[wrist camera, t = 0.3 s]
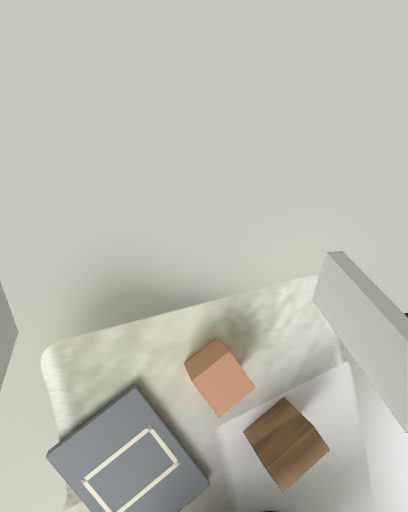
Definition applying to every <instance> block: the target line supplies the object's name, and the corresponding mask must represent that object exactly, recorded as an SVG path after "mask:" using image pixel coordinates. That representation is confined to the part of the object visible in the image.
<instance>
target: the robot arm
mask: <svg viewBox="0 0 408 512" xmlns="http://www.w3.org/2000/svg"><path fill="white" fill-rule="evenodd" d="M312 300H313V301H314V303H315V304H316V306H317V307H318V308H319V310H320V311H321V313H322V314H323V316H324V317H325V318H326V320H327V321H328V323H329V324H330V326H331V327H332V328H333V330H334V331H335V333H336V334H337V335H338V337H339V338H340V340H341V341H342V343H343V344H344V345H345V347H346V348H347V350H348V351H349V352H350V354H351V355H352V357H353V358H354V360H355V361H356V362H357V364H358V365H359V367H360V368H361V370H362V371H363V372H364V374H365V375H366V377H367V378H368V380H369V381H370V382H371V384H372V385H373V387H374V388H375V389H376V391H377V392H378V394H379V395H380V396H381V398H382V399H383V401H384V402H385V404H386V405H387V407H388V408H389V409H390V411H391V412H392V414H393V415H394V416H395V418H396V419H397V421H398V422H399V423H400V425H401V426H402V428H403V429H404V431H405V432H406V433H407V432H408V313H403V312H402V311H400V309H399V308H397V306H396V305H395V304H394V303H393V302H392V301H391V300H390V299H389V298H388V297H387V296H386V295H385V294H384V293H383V292H382V291H381V290H380V289H379V288H378V287H377V286H376V285H375V284H374V283H373V282H372V281H371V280H370V279H369V278H368V277H367V276H366V275H365V274H364V273H363V272H362V271H361V270H360V269H359V268H358V267H357V266H356V265H355V263H354V262H353V261H352V260H351V259H350V258H349V257H347V255H346V254H345V253H344V252H343V251H337V252H327V253H326V256H325V260H324V263H323V266H322V269H321V273H320V276H319V279H318V283H317V286H316V289H315V292H314V296H313V299H312ZM17 335H18V330H17V327H16V324H15V321H14V318H13V316H12V313H11V310H10V307H9V305H8V302H7V299H6V296H5V294H4V291H3V288H2V285H1V282H0V390H1V387H2V383H3V380H4V377H5V374H6V370H7V367H8V364H9V361H10V358H11V354H12V351H13V347H14V345H15V341H16V338H17ZM268 512H273V511H268Z"/></svg>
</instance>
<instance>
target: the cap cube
mask: <svg viewBox="0 0 408 512" xmlns="http://www.w3.org/2000/svg"><path fill="white" fill-rule="evenodd" d="M184 365H185V367H186V369H187V372H188V374H189V376H190V378H191V381H192V382H193V384H194V385H195V386H196V388H197V389H198V390H199V392H200V393H201V394H202V396H203V397H204V398H205V400H206V401H207V402H208V404H209V405H210V406H211V408H212V409H213V410H214V412H215V413H216V414H217V416H218V417H220V416H221V415H222V414H224V413H225V412H226V411H227V410H229V409H230V408H231V407H232V406H233V405H235V404H236V403H237V402H238V401H239V400H241V399H242V398H243V397H244V396H245V395H247V394H248V393H249V392H250V391H252V390H253V389H254V388H255V386H254V384H253V383H252V382H251V380H250V379H249V377H248V376H247V375H246V373H245V372H244V370H243V369H242V368H241V366H240V365H239V363H238V362H237V361H236V359H235V358H234V356H233V355H232V354H231V352H230V351H229V350H228V349H227V348H226V347H225V346H224V345H223V344H222V343H221V341H220V340H219V339H218V338H216V339H215V340H213V341H212V342H211V343H209V344H208V345H207V346H206V347H204V348H203V349H202V350H200V351H199V352H198V353H197V354H195V355H194V356H193V357H191V358H190V359H189V360H188V361H186V362H185V363H184Z"/></svg>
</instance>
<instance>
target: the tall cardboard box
mask: <svg viewBox="0 0 408 512" xmlns="http://www.w3.org/2000/svg"><path fill="white" fill-rule="evenodd" d="M243 433H244V434H245V436H246V438H247V439H248V441H249V442H250V444H251V446H252V447H253V449H254V451H255V452H256V454H257V456H258V457H259V459H260V461H261V462H262V464H263V466H264V467H265V469H266V470H267V472H268V473H269V474H270V476H271V477H272V478H273V480H274V481H275V482H276V484H277V485H278V486H279V488H280V489H281V491H282V492H284V491H285V490H286V489H287V488H288V487H290V486H291V485H292V484H293V483H294V482H295V481H296V480H297V479H298V478H299V477H301V476H302V475H303V474H304V473H305V472H306V471H307V470H308V469H309V468H311V467H312V466H313V465H314V464H315V463H316V462H317V461H318V460H319V459H320V458H322V457H323V456H324V455H325V454H326V453H327V452H328V451H329V450H330V449H329V447H328V446H327V444H326V443H325V442H324V440H323V439H322V437H321V436H320V434H319V433H318V432H317V430H316V429H315V427H314V426H313V425H312V424H311V423H310V422H309V421H308V420H307V419H306V418H305V417H304V416H303V415H302V414H301V413H299V412H298V411H297V410H296V409H295V408H294V407H293V406H292V405H291V404H290V403H289V402H288V401H287V400H286V399H285V398H282V399H281V400H280V401H279V402H278V403H276V404H275V405H274V406H273V407H272V408H271V409H269V410H268V411H267V412H266V413H265V414H263V415H262V416H261V417H260V418H259V419H258V420H256V421H255V422H254V423H253V424H252V425H250V426H249V427H248V428H247V429H246V430H245V431H243Z"/></svg>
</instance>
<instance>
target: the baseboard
mask: <svg viewBox="0 0 408 512" xmlns="http://www.w3.org/2000/svg"><path fill="white" fill-rule="evenodd" d="M46 458H47V459H48V461H49V462H50V463H51V464H52V465H53V466H54V468H55V469H56V470H57V471H58V472H59V474H60V475H61V476H62V477H63V479H64V480H65V481H66V482H67V483H68V484H69V486H70V487H71V488H72V489H73V490H74V492H75V493H76V494H77V495H78V496H79V498H80V499H81V500H82V501H83V502H84V504H85V505H86V506H87V507H88V508H89V510H90V511H91V512H180V511H181V510H182V509H183V508H184V507H185V506H187V505H188V504H189V503H190V502H191V501H192V500H194V499H195V498H196V497H197V496H198V495H199V494H201V493H202V492H203V491H204V490H205V489H206V488H208V487H209V486H210V483H209V480H208V478H207V476H206V475H205V474H204V472H203V471H202V470H201V468H200V467H199V466H198V465H197V463H196V462H195V461H194V459H193V458H192V457H191V455H190V454H189V453H188V452H187V450H186V449H185V448H184V446H183V445H182V444H181V442H180V441H179V440H178V439H177V437H176V436H175V435H174V433H173V432H172V431H171V429H170V428H169V427H168V426H167V424H166V423H165V422H164V420H163V419H162V418H161V416H160V415H159V414H158V413H157V411H156V410H155V409H154V407H153V406H152V405H151V403H150V402H149V401H148V400H147V398H146V397H145V396H144V394H143V393H142V392H141V390H140V389H139V388H138V387H137V385H136V384H135V385H133V386H132V387H131V388H129V389H128V390H127V391H125V392H124V393H123V394H122V395H120V396H119V397H118V398H116V399H115V400H114V401H112V402H111V403H110V404H109V405H107V406H106V407H105V408H103V409H102V410H101V411H99V412H98V413H97V414H96V415H94V416H93V417H92V418H90V419H89V420H88V421H86V422H85V423H84V424H83V425H81V426H80V427H79V428H77V429H76V430H75V431H73V432H72V433H71V434H70V435H68V436H67V437H66V438H64V439H63V440H62V441H60V442H59V443H58V444H57V445H55V446H54V447H53V448H51V449H50V450H49V451H48V453H47V455H46Z"/></svg>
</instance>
